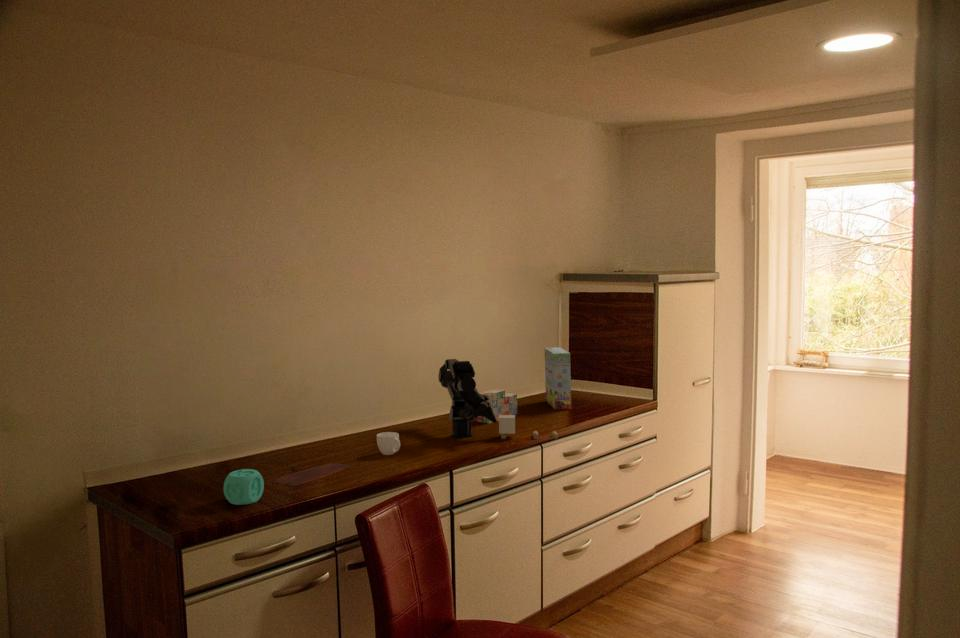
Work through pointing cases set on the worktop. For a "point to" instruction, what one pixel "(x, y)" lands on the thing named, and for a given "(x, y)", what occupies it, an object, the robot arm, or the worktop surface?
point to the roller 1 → (503, 436)
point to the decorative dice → (243, 486)
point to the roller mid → (535, 435)
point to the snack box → (558, 378)
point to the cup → (388, 442)
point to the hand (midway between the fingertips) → (495, 422)
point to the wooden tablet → (310, 474)
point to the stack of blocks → (499, 404)
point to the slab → (506, 424)
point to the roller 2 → (554, 435)
